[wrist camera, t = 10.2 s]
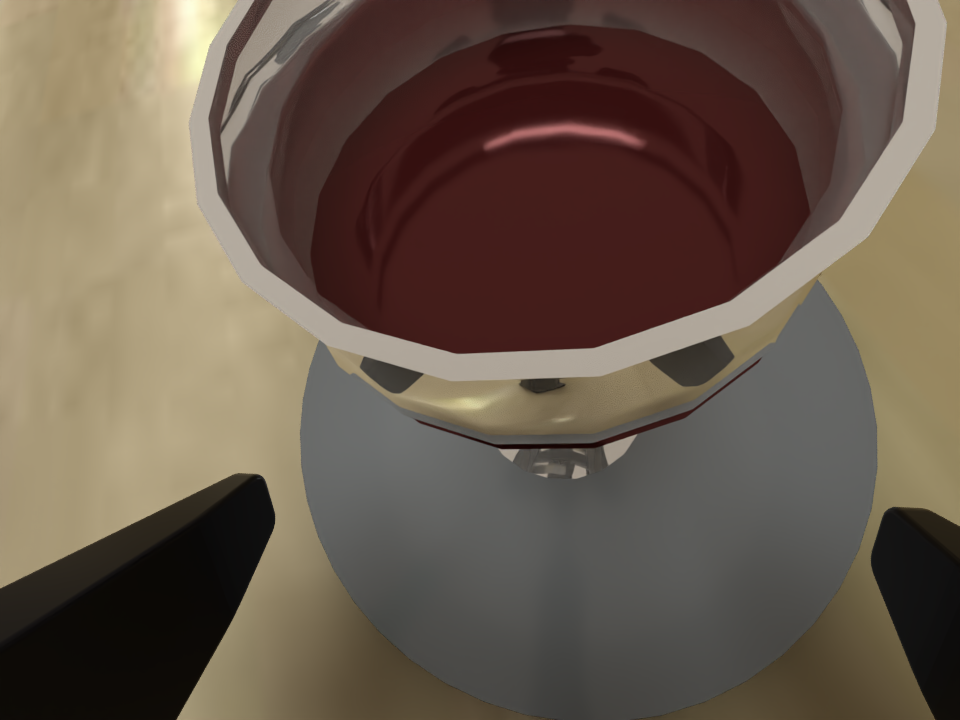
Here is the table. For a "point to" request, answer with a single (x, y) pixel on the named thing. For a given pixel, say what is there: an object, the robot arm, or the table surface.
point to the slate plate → (604, 535)
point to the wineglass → (555, 192)
